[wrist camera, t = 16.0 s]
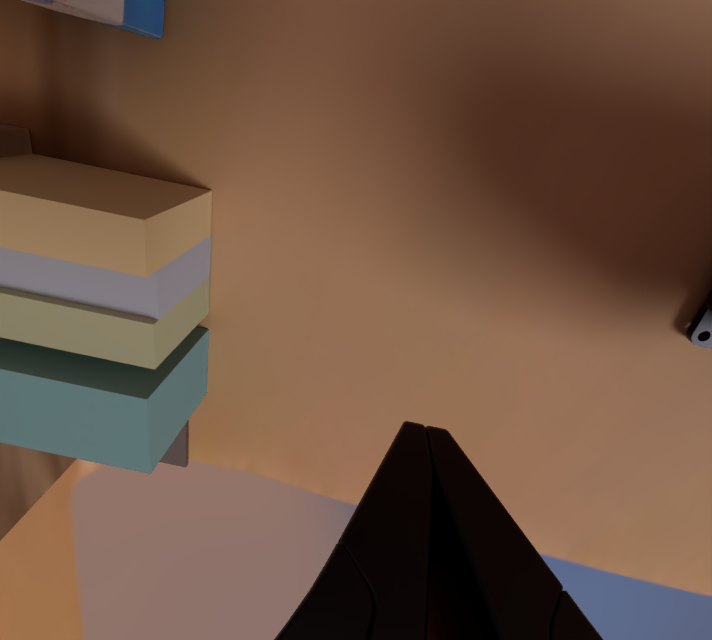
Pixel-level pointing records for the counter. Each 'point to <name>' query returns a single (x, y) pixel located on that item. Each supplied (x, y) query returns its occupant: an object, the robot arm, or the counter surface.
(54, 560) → the counter surface
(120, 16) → the ink box
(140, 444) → the grey teal rectangular block
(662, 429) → the counter surface
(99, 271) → the row of shelved books
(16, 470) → the walnut back wall
